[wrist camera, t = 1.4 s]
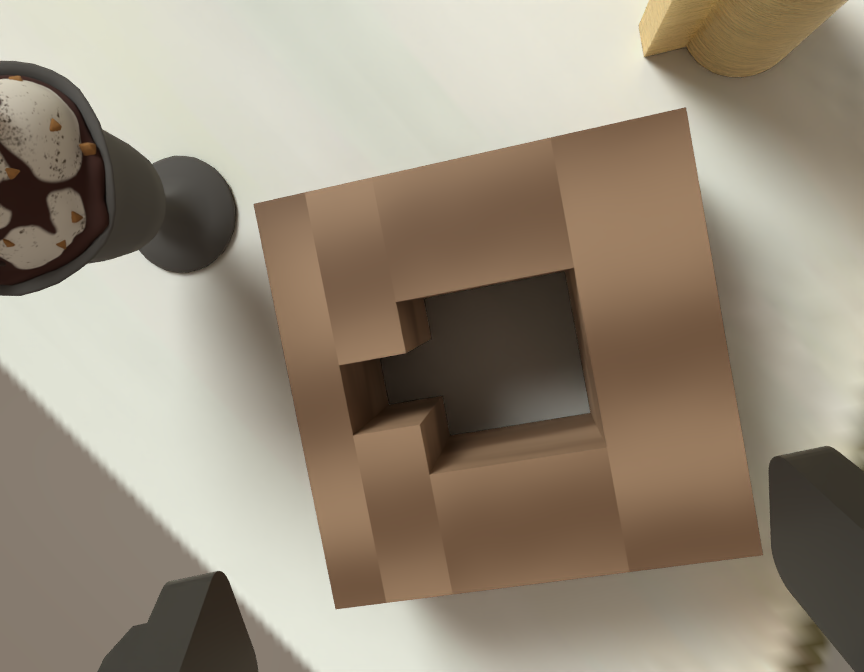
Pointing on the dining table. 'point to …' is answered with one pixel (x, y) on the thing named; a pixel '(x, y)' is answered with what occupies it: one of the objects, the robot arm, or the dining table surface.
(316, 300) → the walnut socket block
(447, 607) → the dining table surface
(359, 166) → the dining table surface
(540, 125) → the dining table surface
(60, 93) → the sundae
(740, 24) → the brass peg
